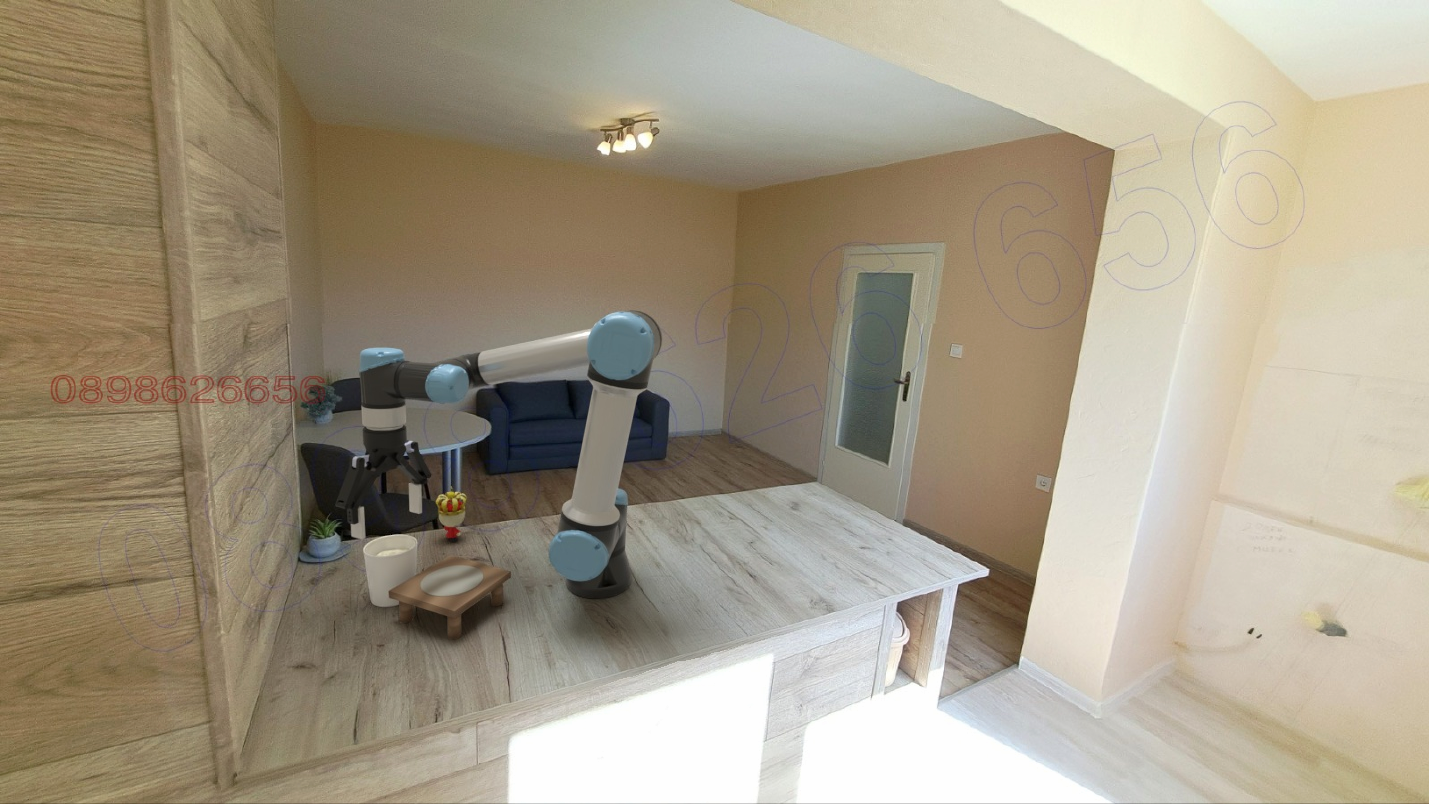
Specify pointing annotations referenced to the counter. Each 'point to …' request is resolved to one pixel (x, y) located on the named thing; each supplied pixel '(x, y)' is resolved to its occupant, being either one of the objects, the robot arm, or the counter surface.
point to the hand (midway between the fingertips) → (388, 524)
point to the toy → (451, 513)
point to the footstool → (450, 590)
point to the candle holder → (389, 566)
